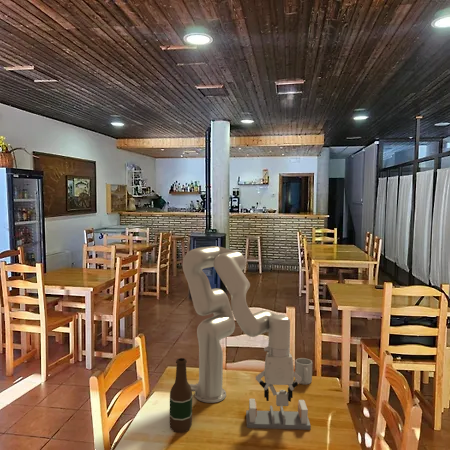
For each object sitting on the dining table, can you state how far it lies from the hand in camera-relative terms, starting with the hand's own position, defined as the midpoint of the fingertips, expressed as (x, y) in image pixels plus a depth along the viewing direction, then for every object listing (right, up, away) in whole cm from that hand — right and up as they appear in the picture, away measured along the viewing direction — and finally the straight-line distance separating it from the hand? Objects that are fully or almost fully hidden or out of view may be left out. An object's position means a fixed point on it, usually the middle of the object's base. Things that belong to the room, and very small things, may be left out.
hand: (278, 399), depth 144 cm
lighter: (0, -2, 0) cm, 2 cm away
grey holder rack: (0, -8, +1) cm, 8 cm away
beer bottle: (-34, -8, -4) cm, 36 cm away
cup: (+15, -7, +32) cm, 36 cm away
